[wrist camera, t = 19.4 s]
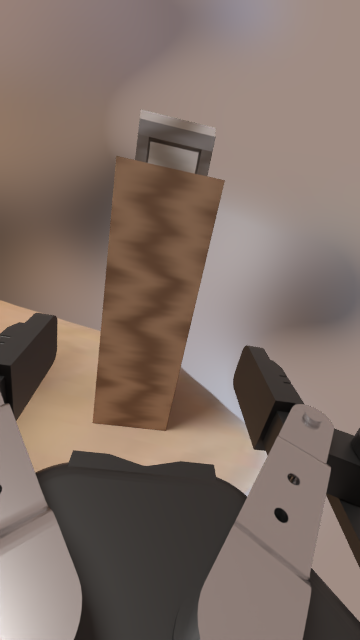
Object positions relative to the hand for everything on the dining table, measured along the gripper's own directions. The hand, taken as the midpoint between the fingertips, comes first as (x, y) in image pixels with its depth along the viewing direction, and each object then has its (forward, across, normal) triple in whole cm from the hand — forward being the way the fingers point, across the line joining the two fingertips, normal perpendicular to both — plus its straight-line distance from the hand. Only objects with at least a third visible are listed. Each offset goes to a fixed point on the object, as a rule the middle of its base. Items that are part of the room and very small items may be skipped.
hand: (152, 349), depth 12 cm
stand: (+24, 0, -24) cm, 34 cm away
